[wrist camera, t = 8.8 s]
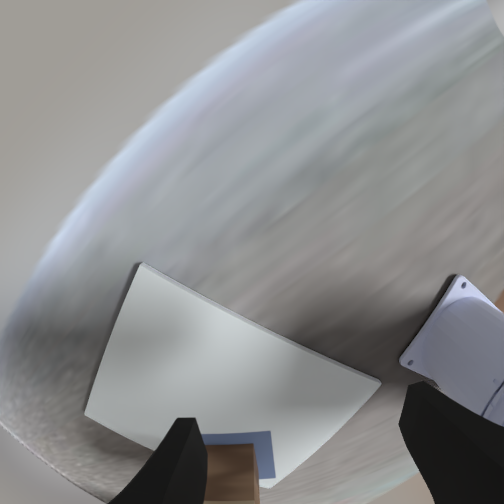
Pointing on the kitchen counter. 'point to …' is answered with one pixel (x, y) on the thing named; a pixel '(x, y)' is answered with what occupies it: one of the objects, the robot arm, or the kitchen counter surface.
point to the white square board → (219, 378)
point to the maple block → (229, 502)
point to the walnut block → (232, 473)
